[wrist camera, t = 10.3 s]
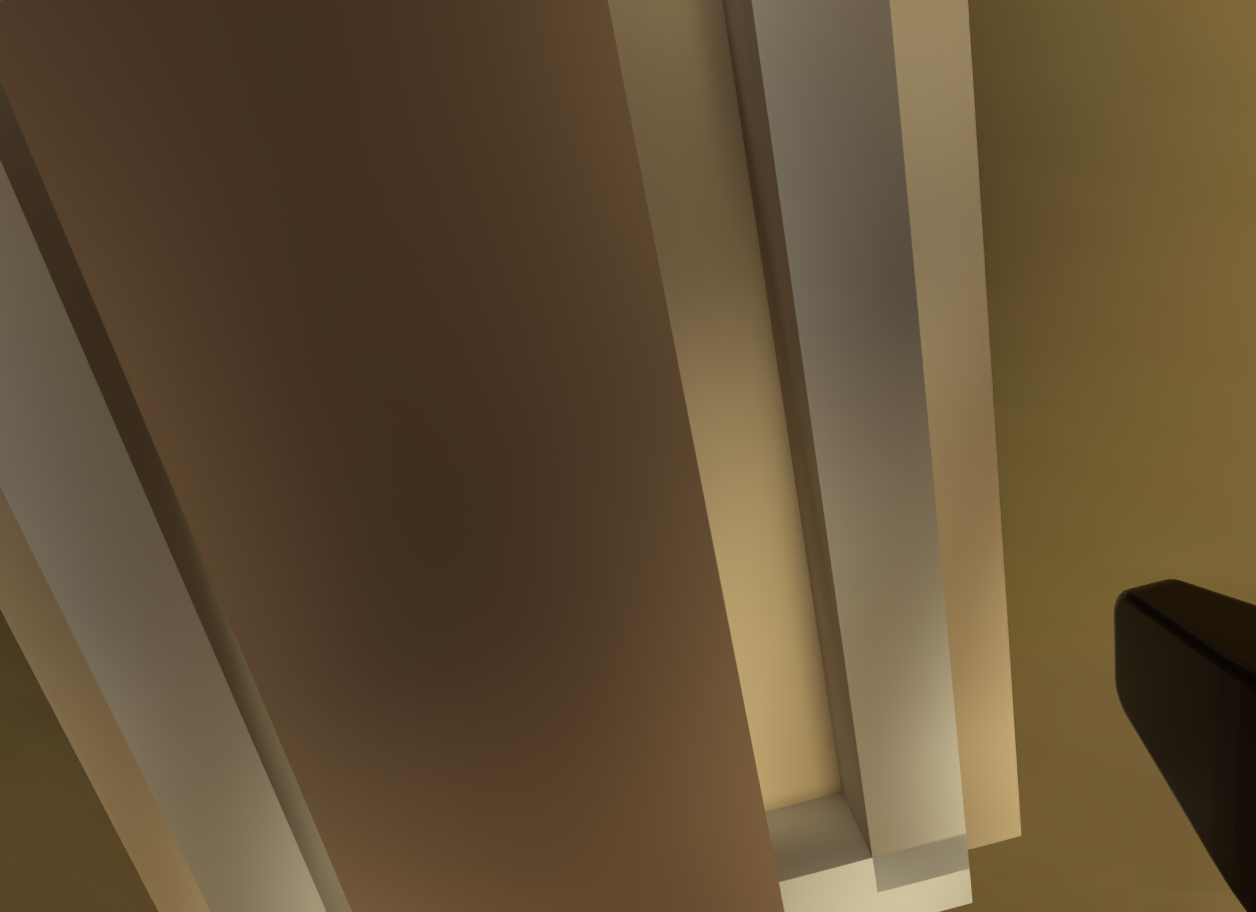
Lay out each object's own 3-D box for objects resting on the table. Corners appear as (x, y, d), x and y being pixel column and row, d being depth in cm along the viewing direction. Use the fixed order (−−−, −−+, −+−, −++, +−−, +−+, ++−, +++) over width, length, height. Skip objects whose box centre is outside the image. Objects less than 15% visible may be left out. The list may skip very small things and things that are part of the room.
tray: (237, 995, 20) (210, 1127, 18) (-437, -346, 12) (-651, -415, 9) (996, 796, 21) (1063, 901, 19) (891, -615, 12) (990, -740, 10)
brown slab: (456, 794, 18) (461, 1168, 12) (173, -23, 13) (-30, 6, 7) (705, 730, 18) (815, 1071, 13) (526, -101, 13) (581, -130, 7)
